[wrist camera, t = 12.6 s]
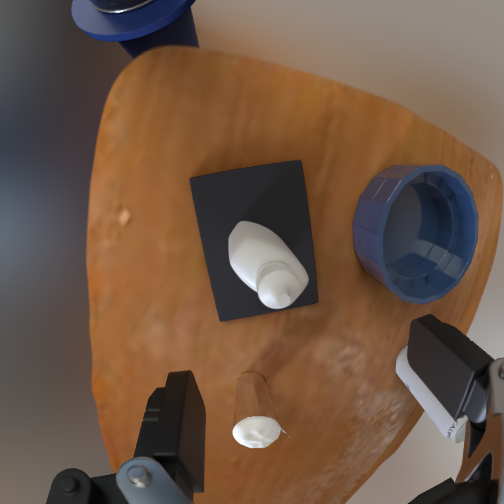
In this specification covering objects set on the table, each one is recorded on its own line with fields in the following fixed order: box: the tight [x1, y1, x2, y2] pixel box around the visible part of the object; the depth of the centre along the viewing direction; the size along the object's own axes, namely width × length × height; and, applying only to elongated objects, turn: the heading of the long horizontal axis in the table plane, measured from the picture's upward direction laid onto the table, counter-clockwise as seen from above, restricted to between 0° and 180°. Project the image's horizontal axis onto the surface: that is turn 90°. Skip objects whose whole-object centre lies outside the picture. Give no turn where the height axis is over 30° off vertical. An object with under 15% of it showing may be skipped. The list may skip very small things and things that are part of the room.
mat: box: [189, 160, 318, 322], centre depth 27 cm, size 14×10×1 cm
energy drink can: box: [396, 345, 468, 443], centre depth 26 cm, size 6×6×15 cm
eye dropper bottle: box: [229, 221, 309, 309], centre depth 21 cm, size 4×6×12 cm
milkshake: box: [233, 371, 293, 448], centre depth 27 cm, size 4×5×10 cm
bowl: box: [353, 164, 478, 304], centre depth 26 cm, size 13×13×6 cm
